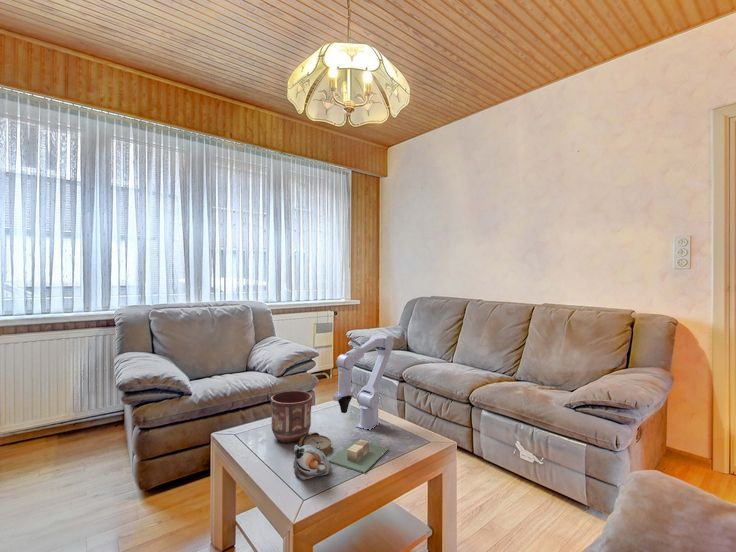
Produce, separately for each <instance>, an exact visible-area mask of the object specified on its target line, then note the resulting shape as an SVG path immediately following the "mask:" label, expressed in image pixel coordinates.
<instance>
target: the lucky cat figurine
mask: <svg viewBox="0 0 736 552" xmlns="http://www.w3.org/2000/svg"><path fill="white" fill-rule="evenodd" d="M293 453H294V460H293V466H292V467H293V470H294V472H293V473H294V475H295V476H296V477H297V478H299V479H300V480H302V481H305V480H309V479H312V478H314V477H320V476H321V477H322V476H325V475H326V476H327V475H329V474H330V472H331V468H332V467H331V466H332V465H331V464H332V463H330V462H329V459H328V458H327V457H326V455H324V453H323V452H322V451H320V446H316V448H315V447H314V446H311V445H304V446H302V447H300V446H299V444H296V445H294V446H293Z"/></svg>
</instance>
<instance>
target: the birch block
mask: <svg viewBox="0 0 736 552" xmlns="http://www.w3.org/2000/svg"><path fill="white" fill-rule="evenodd" d="M358 440H359V441H358V442H356V443H355V444H354V445H353V446H351V447H350V448H349V449H347V460H349V461H353V462H357V461H359V460H360V459H361V458H362V457H363V456H364V455H365V454H367V453H368V452H369V443H370V441H368V440H364V439H361V438H360V439H358Z"/></svg>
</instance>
